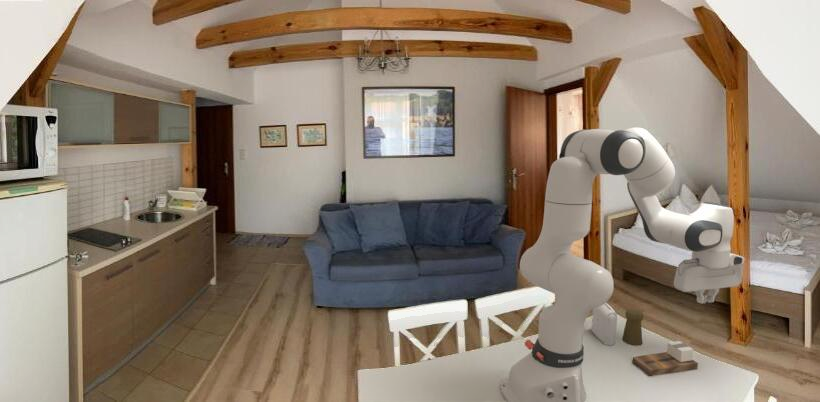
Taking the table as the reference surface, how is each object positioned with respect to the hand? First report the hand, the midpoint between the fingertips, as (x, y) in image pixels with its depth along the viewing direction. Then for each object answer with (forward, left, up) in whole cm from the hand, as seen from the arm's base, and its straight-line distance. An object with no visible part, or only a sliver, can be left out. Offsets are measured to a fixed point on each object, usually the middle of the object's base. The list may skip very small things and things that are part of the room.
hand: (705, 302), depth 119 cm
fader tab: (-7, 0, -17) cm, 18 cm away
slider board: (-12, 0, -19) cm, 23 cm away
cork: (-11, +15, -19) cm, 27 cm away
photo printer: (-19, +19, -19) cm, 33 cm away
